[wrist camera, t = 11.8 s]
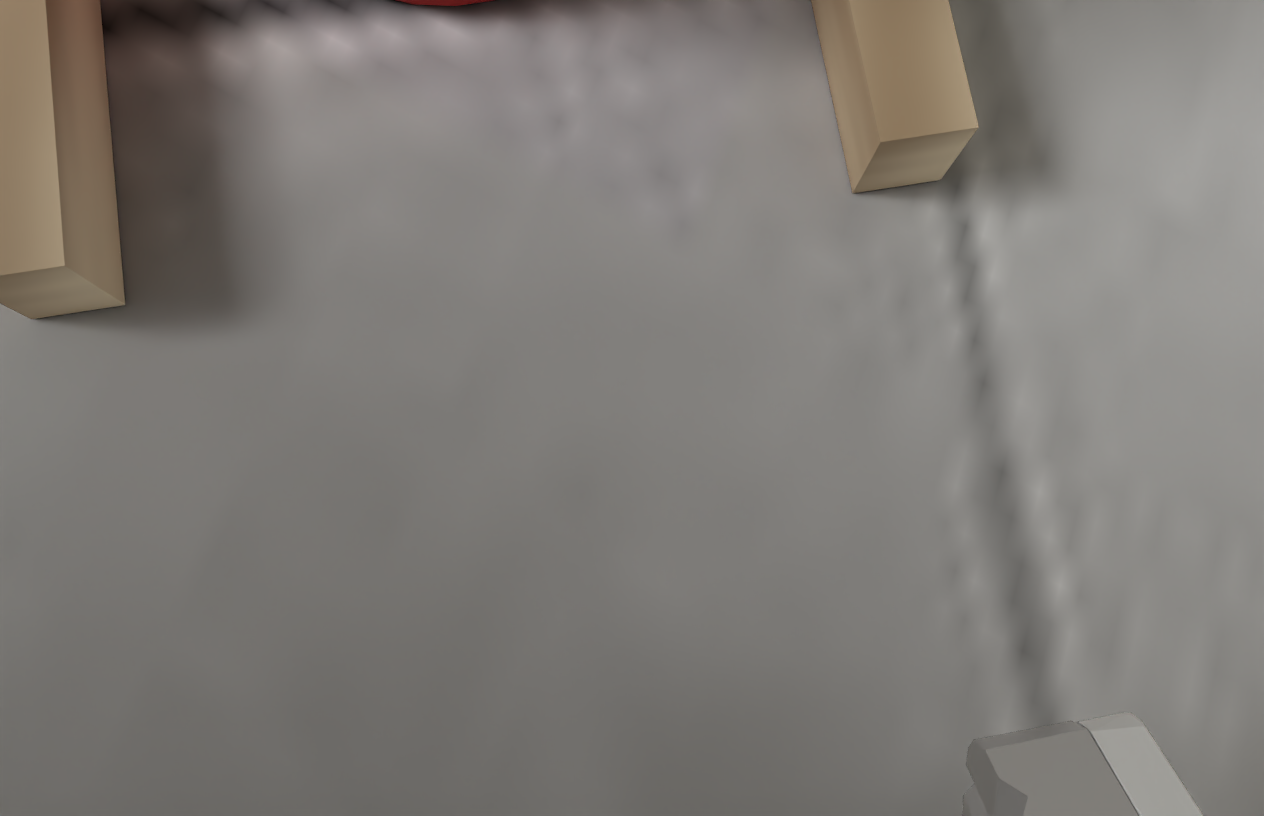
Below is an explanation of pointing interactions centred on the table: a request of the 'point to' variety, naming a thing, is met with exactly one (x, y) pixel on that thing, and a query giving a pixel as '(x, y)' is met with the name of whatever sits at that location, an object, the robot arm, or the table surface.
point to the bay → (83, 158)
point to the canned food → (443, 2)
